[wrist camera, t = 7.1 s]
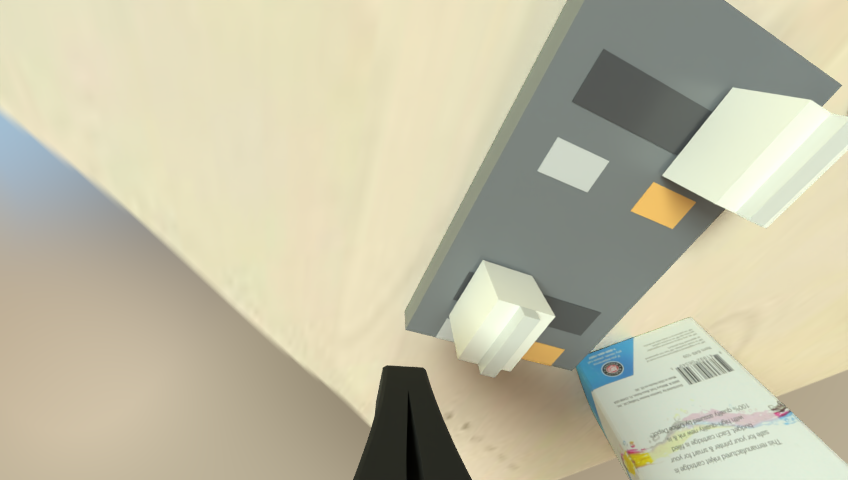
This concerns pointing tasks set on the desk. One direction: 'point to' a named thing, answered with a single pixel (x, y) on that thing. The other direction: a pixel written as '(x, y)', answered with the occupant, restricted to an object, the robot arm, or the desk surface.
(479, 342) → the switch tab
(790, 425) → the ink box
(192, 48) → the desk surface
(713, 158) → the switch tab
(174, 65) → the desk surface
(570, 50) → the switch board
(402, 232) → the desk surface
